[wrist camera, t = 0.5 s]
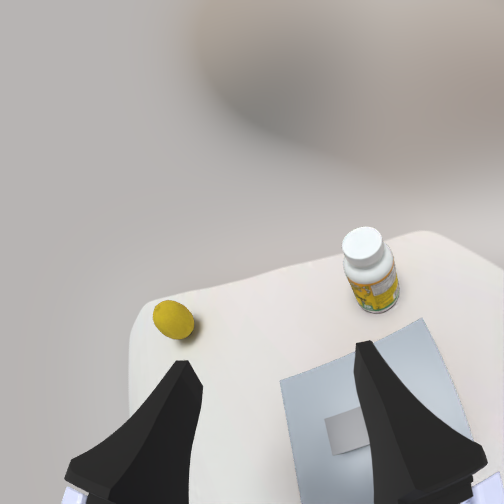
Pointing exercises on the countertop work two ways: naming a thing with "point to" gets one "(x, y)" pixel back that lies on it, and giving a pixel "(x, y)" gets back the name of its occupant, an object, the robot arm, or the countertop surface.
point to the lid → (359, 415)
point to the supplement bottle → (370, 269)
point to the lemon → (173, 319)
